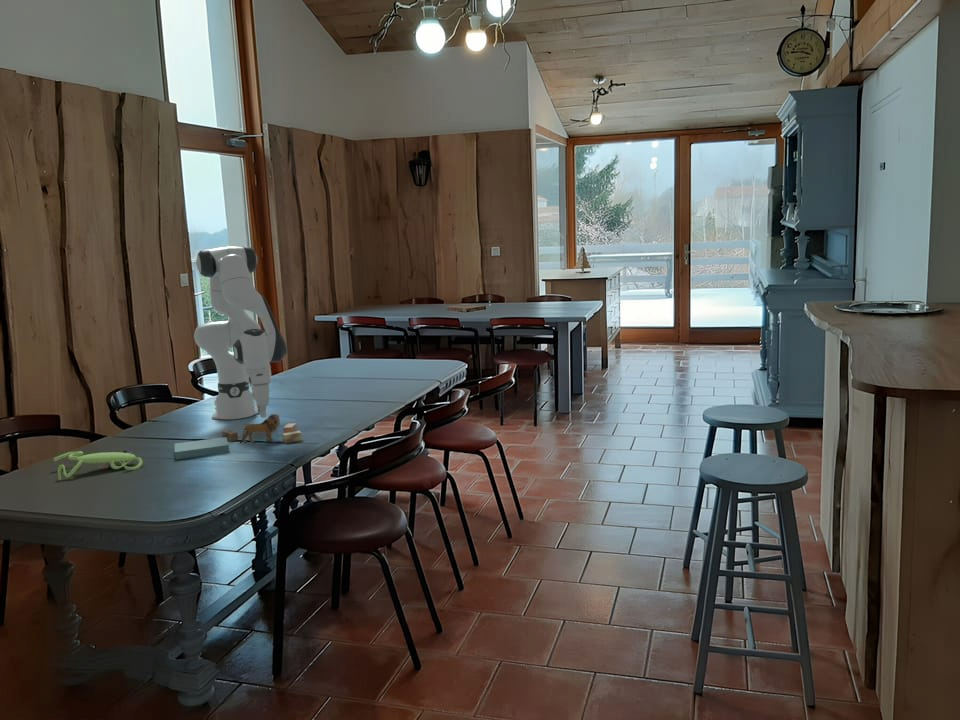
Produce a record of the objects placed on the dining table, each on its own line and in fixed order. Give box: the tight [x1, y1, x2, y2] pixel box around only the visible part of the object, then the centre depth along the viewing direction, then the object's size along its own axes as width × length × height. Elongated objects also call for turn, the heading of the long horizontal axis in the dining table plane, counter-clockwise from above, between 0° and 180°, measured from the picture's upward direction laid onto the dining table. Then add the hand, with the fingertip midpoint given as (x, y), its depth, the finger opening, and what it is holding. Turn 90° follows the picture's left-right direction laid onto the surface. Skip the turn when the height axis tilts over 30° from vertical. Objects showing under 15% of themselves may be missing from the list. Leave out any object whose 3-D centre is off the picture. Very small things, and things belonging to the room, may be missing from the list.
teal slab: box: [174, 436, 230, 460], centre depth 266 cm, size 12×17×2 cm
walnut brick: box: [221, 429, 239, 442], centre depth 281 cm, size 6×3×3 cm, turn 48°
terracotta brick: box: [283, 422, 298, 433], centre depth 286 cm, size 6×3×3 cm, turn 176°
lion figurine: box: [239, 413, 280, 444], centre depth 276 cm, size 15×5×9 cm, turn 120°
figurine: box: [53, 450, 144, 481], centre depth 252 cm, size 18×27×6 cm
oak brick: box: [281, 430, 303, 444], centre depth 275 cm, size 6×3×3 cm, turn 121°
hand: (261, 414), depth 276 cm, fingers open, 8 cm apart
